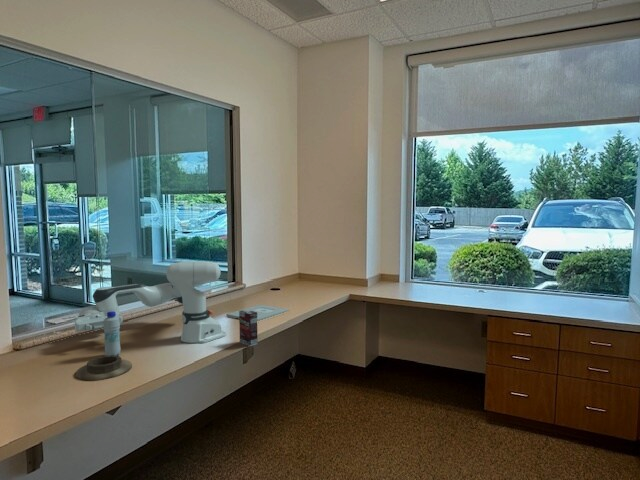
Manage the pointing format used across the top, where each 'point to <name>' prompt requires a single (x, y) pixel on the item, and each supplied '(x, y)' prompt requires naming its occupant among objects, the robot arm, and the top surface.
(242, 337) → the supplement box
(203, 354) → the top surface
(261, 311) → the award plaque
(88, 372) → the coaster
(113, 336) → the bottle
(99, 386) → the top surface
